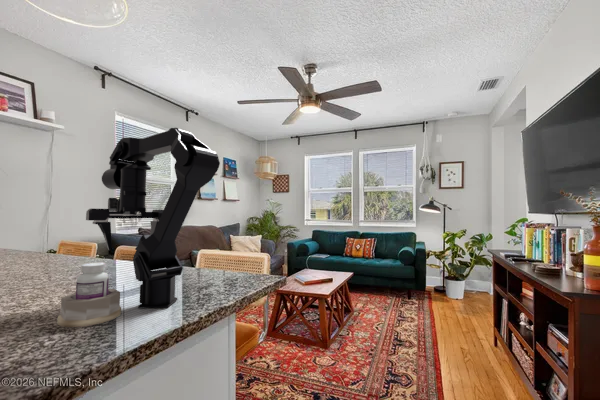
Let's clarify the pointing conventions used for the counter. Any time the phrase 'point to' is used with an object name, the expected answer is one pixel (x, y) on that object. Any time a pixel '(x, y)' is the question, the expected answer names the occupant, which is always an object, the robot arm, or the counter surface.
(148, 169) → the robot arm
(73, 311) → the socket base
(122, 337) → the counter surface
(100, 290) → the pill bottle
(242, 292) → the counter surface
